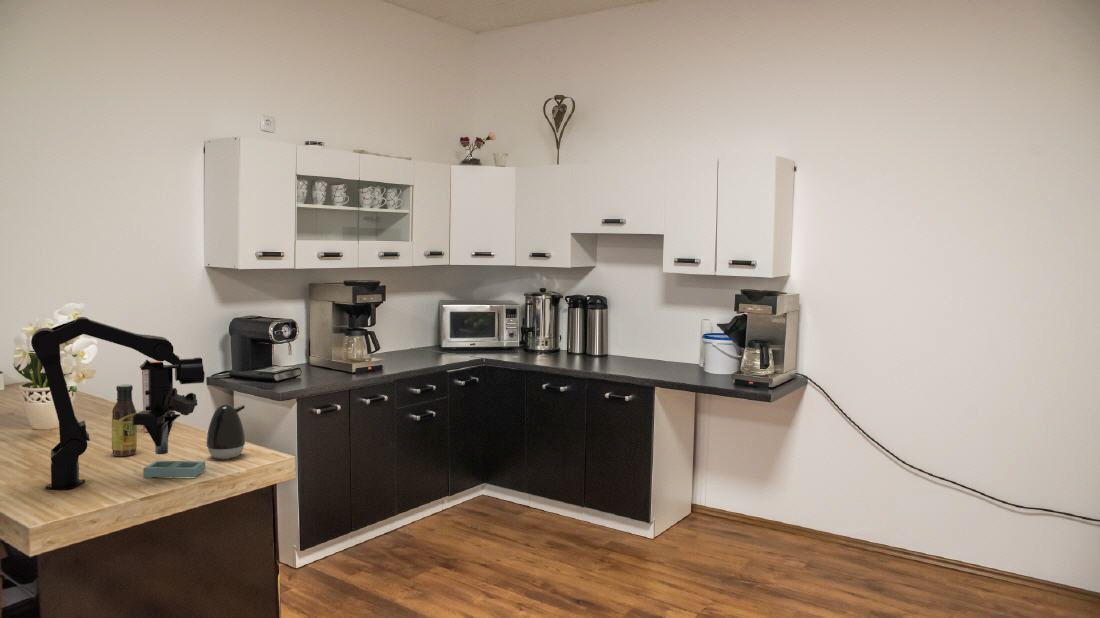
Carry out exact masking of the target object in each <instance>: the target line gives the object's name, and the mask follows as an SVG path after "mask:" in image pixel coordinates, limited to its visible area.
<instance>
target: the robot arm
mask: <svg viewBox="0 0 1100 618" xmlns="http://www.w3.org/2000/svg"><path fill="white" fill-rule="evenodd" d="M83 335H86V336H90V337H93V338H96V339H99V340H102V341H106V342H108V343H109V342H110V343H113V344H116V345H120V346H123V347H126V348H129V349H133V350H135V351H136V352H138V353H140V354H142V355H144V356H146V357H147V358H150V359H153V361H162V362H149V361H150V360H148V359H145V361H143V362H142V364H141V365H140V366H139V369H140V371H142V370H148V384H149V386H148V387H149V390H147V391H145V395H149V405H148V406H146V411H143V410H141V411H139V412H137V414H135V415H134V416H133V417H132V424H133V425H137V426H143V428H144V427H145V428H146V430H147V431H148V432H147V433H148V434H149V436H150V438H151V439H152V442H153V443H154V446H155V445H156V446H161V443H162V436H163V427H164V426H165V425H166V424H167V423H168V438H169V437H170V433H171V430H172V426H173V423H174V421H176V420H177V419H178V418H180V417H181V415H182V416H188V415H189V416H190V414H193V412H194V411H195V407H197V406H198V399H197V394H196V393H194V392H188V393H187V394H186V395H185V394H182V395H181V394H178V389H177V388H176V387H174V380H173V379H175V382H179V385H192V384H204V383H205V375H206V374H205V370H204V364H203V358H202V357H199V356H198V357H194V358H180V356H179V355H178V354H175V353H174V346H173V344H172V342H171V341H170V340H169V339H167V338H166V337H164V336H157V335H150V334H140V333H134V332H131V331H127V330H125V329H121V328H119V327H115V326H112V325H108V324H105V323H101V322H98V321H96V320H93V319H89V318H88V317H86V316H79V317H76V318H75V319H73V320H71V321H68V322H66V323H62V324H59V325H56V326H54V327H40V328H39V329H37V330H35V331H34V333H33V334H32V337H31V339H30V340H31V341H30V343H31V344H30V345H31V348H32V349H33V351H34V354H35V355H36V358H37V359H38V361H39V362H40V364H41V365H42V366H41V367H43V370H44V373H45V377H46V380H47V383H48V384H47V385H48V387H49V392H50V394H51V399H52V402H53V406H54V410H55V413H56V416H57V420H58V428H59V429H58V430H59V442H58V443H57V444H56V445H55V446H54V447H53V448H52V449H51V450H50V461H51V462H50V482H51V483H49V484H47V485H45V486H44V489H45V490H46V489H48V490H73V489H74V488H76V487H78V486H80V485H82V484H83V483H85V482H86V479H84V478H83V479H81V478H80V463H79V461H80V460H79V457H80V456H81V455H83V454H84V453H85V452H86V451H87V449H88V442H90V441H91V440H90V439H91V438H90V433H88V431H87V425H86V420H82V421H80V422H79V419H78V418H77V416H76V414H75V411H74V407H73V402H72V400H71V396H70V392H69V389H68V385H67V381H66V378H65V375H64V371H63V367H62V361H61V345H62V344H65V343H67V342H70V341H71V340H73V339H75V338H77V337H80V336H83ZM164 361H165V362H167V363H168V364H164ZM173 369H174V370H173ZM173 375H174V376H173ZM173 377H174V378H173ZM176 412H177V413H179V414H177V413H176Z"/></svg>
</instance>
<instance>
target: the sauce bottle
mask: <svg viewBox="0 0 1100 618" xmlns="http://www.w3.org/2000/svg"><path fill="white" fill-rule="evenodd" d="M133 388H134V387H133V385H132V384H130V383H129V384H118V385H116V392H117V393H116V394H117V395H116V402H115V404H114V407H113V408H112V418H111V450H112V452H111V453H112V455H113V456H114V457H128V456H133V455H135V454H136V453H137V445H138V443H137V442H138V439H137V438H138V435H137V432H138V430H137V428H138V425H133V424H132V417H133V416H134V415H135V414H137V413H138V412H137V410H136V407H135V404H134V402H133Z"/></svg>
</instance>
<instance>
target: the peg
mask: <svg viewBox="0 0 1100 618" xmlns="http://www.w3.org/2000/svg"><path fill="white" fill-rule="evenodd" d="M154 446H155V447H154V448H155V455H167V454H168V453H169V437H168V423H167V424H166V425H165V426H164V427H163V436H162V443H161V446H156V445H155V444H154Z"/></svg>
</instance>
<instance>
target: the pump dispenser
mask: <svg viewBox="0 0 1100 618" xmlns="http://www.w3.org/2000/svg"><path fill="white" fill-rule="evenodd" d="M245 407H246V406H245V405H244V404H242V405H240V406H237V407H234V406H233V405H231V404H228V403H225V404H221V405H219V406H218V407H217V408H216V409H215V411H214V413H213V415H212V416H211V419H210V423H209V425H208V430H207V433H206V434H207V435H206V443H205V444H206V447H207V449H208V452H209V454H210V455H211V456H212V457H213V458H215V459H217V458H218V459H217V460H228V459H227V458H232V459H234V458H233V457H235V458H237V457H238V456H239V455H241V454H242V452H243V450H244V447H245V445H246V436H245V431H244V430H245V429H244V426H243V422H242V419H241V417H240V415H239V412H241V411H242V410H244V409H245Z"/></svg>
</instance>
